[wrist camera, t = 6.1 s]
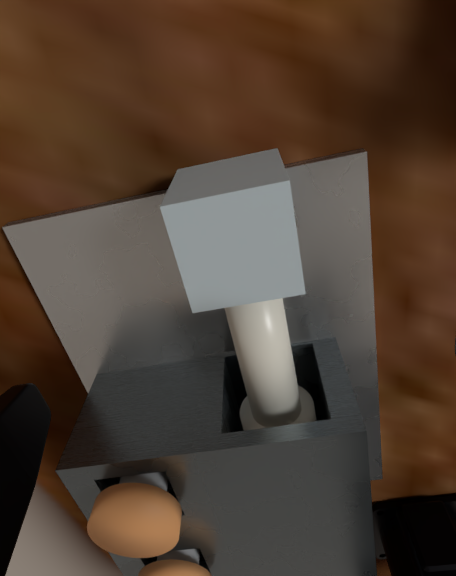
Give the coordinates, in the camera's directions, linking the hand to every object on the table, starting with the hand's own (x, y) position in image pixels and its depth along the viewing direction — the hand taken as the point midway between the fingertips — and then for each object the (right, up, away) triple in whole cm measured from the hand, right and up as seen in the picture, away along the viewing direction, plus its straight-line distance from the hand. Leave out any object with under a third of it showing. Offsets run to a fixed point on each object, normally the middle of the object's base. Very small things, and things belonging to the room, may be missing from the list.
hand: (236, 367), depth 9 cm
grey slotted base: (0, -3, +15) cm, 15 cm away
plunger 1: (-4, -7, +11) cm, 14 cm away
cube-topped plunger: (+2, -2, +12) cm, 13 cm away
